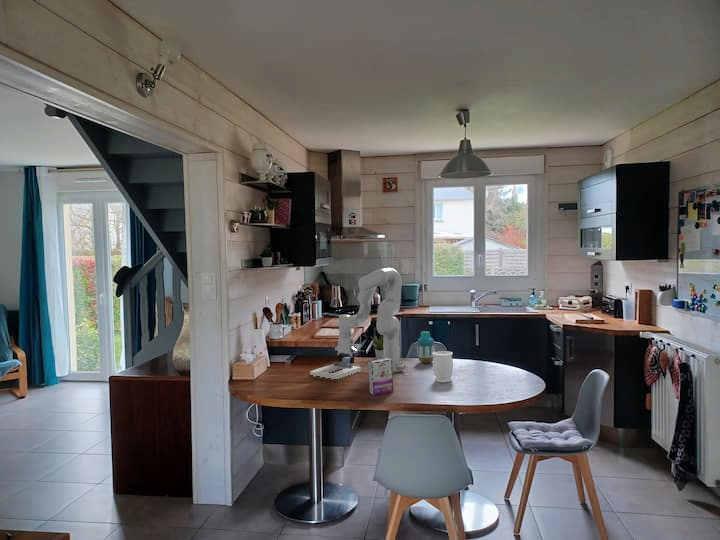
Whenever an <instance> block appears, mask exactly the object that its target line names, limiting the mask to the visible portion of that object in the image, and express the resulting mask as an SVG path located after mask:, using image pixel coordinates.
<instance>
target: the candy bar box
mask: <svg viewBox="0 0 720 540" xmlns="http://www.w3.org/2000/svg"><path fill="white" fill-rule="evenodd" d="M367 364H368V365H367V367H368V381H369V393H370V394H371V395H373V396H378V395H383V394H389V393H393V392H394V379H393V377H394V376H393V372H392V360H391V359H389V358H385V359H372V360H368V361H367Z"/></svg>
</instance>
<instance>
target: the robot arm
mask: <svg viewBox="0 0 720 540" xmlns="http://www.w3.org/2000/svg"><path fill="white" fill-rule="evenodd" d="M382 284H387V287H386V293H385V294H386V295H385V299H383V300H382V301H381V302H380V303H379V304H378V306H377V312H376V313H377V314H376V331H377V332H378V334H380V336H382V338H383V339H382V342H383V345H384V359H385V358H389V359H391V360H392V373H399V372H403V371H404V370H405V369H406V365H405V364H403V362H401V347H400V346H401V345H400V343H401V340H400V336H401V335H400V333H401V323H400V320H399V318H398V317H396V316H395V315H396V314H398V313H399V312H400V309H401V308H400V307H401V299H402V286H403V280H402V276H401V274H400V273H399V272H398V270H396V269H394V268H392V267H384V268H378V269H376V270H374V271H372V272H370V273H368V274H366V275H363V276H362V277H360V279H359V280H358V282H357V286H358V288H359V293H358V295H357V298H356V299H357V301H358V302H359V309H358V311H357V313H356V314H353V315H350V314H345V313H344V314H340V315H339V316H338V339H337V346H335V347H334V350H335V353H336V355H337V363H338V362H343V355H342V354H345V355H346V354H347V355H349V357H350V364H351V365H353V364H354V363H355V357H356V355H357V353H358V350H357V349H356V348H355V342H354V338H353V333H352V329H356V328H359V327H361V326H364V325H365V324H366V323H367V321H368V319H369V317H370V314H371V306H372V304H371V303H372V300H373V297H374V295H375V292H376V290H377V287H378V286H380V285H382Z"/></svg>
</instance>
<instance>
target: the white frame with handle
mask: <svg viewBox="0 0 720 540" xmlns="http://www.w3.org/2000/svg"><path fill="white" fill-rule="evenodd" d="M341 369H342V370H341ZM335 370H336V371H335ZM332 371H333V372H332ZM329 372H330V373H329ZM357 372H358V373H360V372H362V367H361V366H356V365H353V368H349V367H343V366H334V365H333V363H332V364H328V365H325V366H322V367H319V368H316V369H313V370H310V371H309V373H310V375H313V376H312V377H316V376H320V377H319V378H322V377H325V378H324V379H328V378H331V379H330V380H334V379H338V380H340V379H339V378H341V379H343V378H346V377H349V376H352V375H354V373H355V374H357ZM351 374H352V375H351ZM348 375H349V376H348ZM345 376H346V377H345ZM342 377H343V378H342Z"/></svg>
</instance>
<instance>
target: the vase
mask: <svg viewBox="0 0 720 540" xmlns="http://www.w3.org/2000/svg"><path fill="white" fill-rule="evenodd" d="M416 348H417V352H416V353H417V358H418V361H419V362H421V363H423V364H430V363H433V357H434V356H433V354H432V353H433V352H436V351H435V349H436V347H435V340H434V338H432V337H431V333H430V331H425V330H424V331H421V332H420V337H419V338H418V339H417V345H416Z"/></svg>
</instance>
